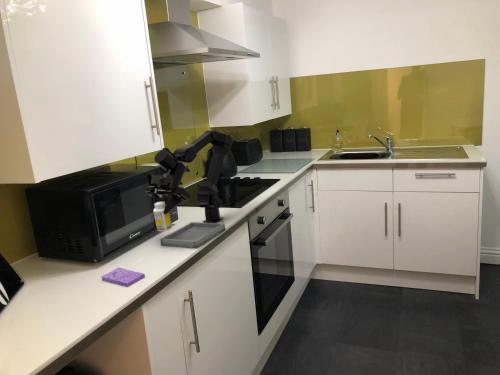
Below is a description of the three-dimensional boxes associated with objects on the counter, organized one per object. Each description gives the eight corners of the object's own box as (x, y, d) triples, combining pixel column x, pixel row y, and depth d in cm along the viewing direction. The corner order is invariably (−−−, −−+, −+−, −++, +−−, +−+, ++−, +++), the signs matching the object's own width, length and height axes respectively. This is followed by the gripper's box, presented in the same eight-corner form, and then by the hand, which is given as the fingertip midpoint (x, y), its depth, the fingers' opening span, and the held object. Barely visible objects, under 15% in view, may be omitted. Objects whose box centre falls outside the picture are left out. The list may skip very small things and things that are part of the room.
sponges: (119, 272, 134) (118, 267, 133) (146, 278, 127) (145, 272, 126) (101, 281, 128) (100, 276, 128) (127, 288, 121) (126, 282, 121)
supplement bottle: (171, 225, 157) (166, 199, 154) (172, 229, 152) (168, 203, 149) (156, 228, 155) (151, 202, 153) (157, 233, 150) (152, 206, 148)
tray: (192, 227, 170) (191, 222, 170) (225, 229, 163) (224, 223, 162) (161, 245, 153) (160, 239, 153) (196, 248, 145) (195, 241, 145)
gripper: (143, 165, 157) (126, 201, 150) (179, 165, 146) (162, 204, 140) (162, 180, 165) (146, 215, 158) (197, 181, 154) (182, 218, 148)
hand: (158, 213), depth 151 cm, fingers closed on supplement bottle, 5 cm apart
